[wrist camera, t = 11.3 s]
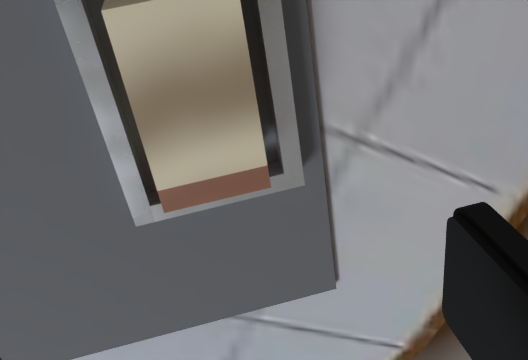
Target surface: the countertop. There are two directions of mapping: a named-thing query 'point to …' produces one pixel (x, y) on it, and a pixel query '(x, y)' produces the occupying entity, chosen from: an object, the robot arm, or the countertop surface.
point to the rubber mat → (118, 213)
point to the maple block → (191, 96)
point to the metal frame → (117, 130)
